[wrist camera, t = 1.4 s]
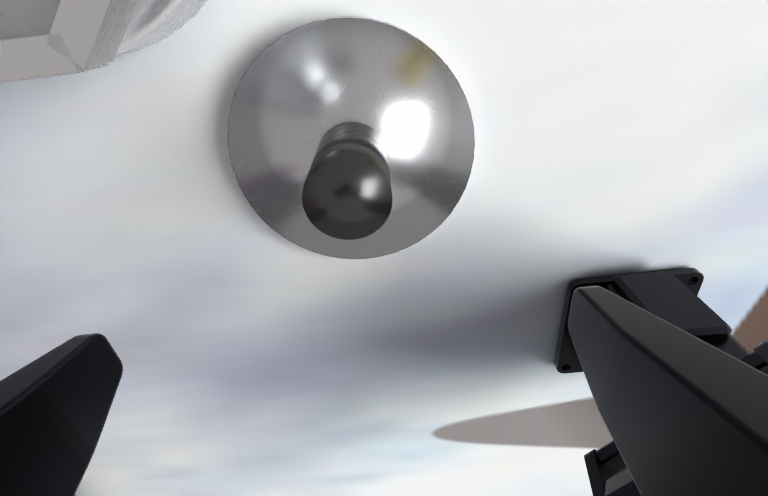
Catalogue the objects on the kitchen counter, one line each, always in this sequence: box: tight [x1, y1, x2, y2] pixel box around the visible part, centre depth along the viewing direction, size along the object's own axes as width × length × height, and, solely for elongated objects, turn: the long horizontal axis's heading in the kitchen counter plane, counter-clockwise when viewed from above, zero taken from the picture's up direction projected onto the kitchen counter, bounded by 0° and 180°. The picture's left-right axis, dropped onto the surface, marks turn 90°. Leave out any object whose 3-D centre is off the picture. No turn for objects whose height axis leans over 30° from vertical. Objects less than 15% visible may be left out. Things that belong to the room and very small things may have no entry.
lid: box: [228, 16, 475, 259], centre depth 15 cm, size 10×10×5 cm
